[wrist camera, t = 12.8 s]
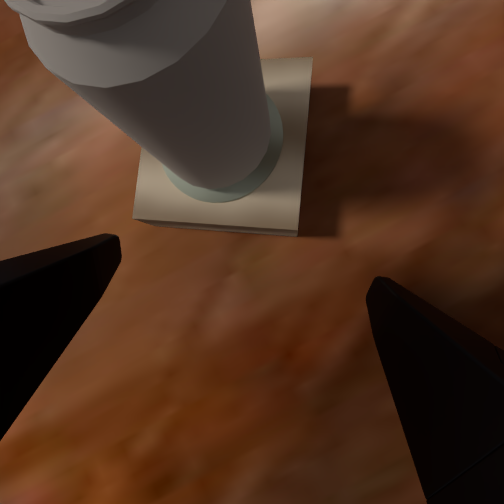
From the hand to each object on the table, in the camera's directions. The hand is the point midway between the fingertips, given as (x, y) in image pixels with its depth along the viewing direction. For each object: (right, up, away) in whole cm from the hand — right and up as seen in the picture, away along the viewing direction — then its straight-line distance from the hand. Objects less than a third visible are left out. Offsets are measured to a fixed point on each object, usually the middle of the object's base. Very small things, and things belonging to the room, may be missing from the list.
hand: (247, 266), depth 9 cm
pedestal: (-2, +8, +12) cm, 15 cm away
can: (-2, +8, +9) cm, 13 cm away
